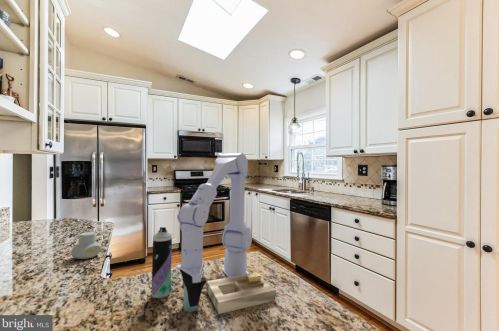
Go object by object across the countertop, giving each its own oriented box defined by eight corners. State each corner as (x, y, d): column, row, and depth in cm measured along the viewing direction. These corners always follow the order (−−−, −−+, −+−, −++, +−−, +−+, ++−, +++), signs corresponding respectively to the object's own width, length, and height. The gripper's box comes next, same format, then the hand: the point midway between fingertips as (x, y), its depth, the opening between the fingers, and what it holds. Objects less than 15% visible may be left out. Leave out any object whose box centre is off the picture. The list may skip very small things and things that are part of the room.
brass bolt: (245, 282, 72) (245, 274, 72) (257, 280, 73) (257, 272, 73) (248, 286, 69) (249, 277, 69) (260, 283, 71) (261, 275, 71)
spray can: (151, 299, 67) (153, 229, 68) (151, 290, 72) (153, 225, 73) (171, 295, 69) (173, 228, 70) (170, 287, 74) (171, 224, 75)
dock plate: (206, 291, 72) (206, 278, 72) (255, 281, 79) (255, 269, 79) (218, 314, 60) (218, 299, 61) (275, 300, 67) (275, 287, 68)
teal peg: (182, 305, 65) (183, 279, 65) (197, 302, 66) (197, 277, 66) (184, 313, 61) (185, 286, 61) (200, 309, 62) (200, 283, 63)
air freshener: (93, 251, 107) (94, 229, 107) (105, 254, 103) (105, 231, 104) (66, 259, 97) (67, 235, 97) (78, 263, 94) (79, 238, 94)
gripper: (174, 242, 69) (172, 288, 69) (180, 258, 56) (179, 316, 55) (197, 239, 72) (197, 284, 71) (209, 255, 59) (208, 309, 58)
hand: (191, 298), depth 64 cm, fingers open, 7 cm apart
